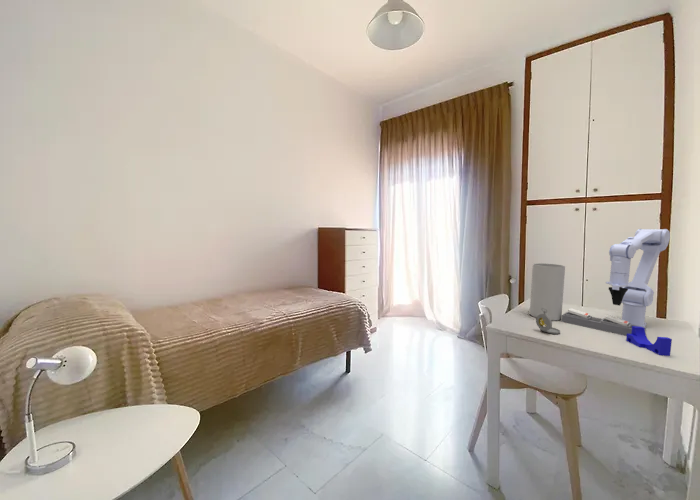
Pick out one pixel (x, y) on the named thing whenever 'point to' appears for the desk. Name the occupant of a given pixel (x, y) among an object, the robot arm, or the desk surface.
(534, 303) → the cylinder vase
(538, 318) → the pocket watch
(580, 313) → the rocker outlet
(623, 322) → the rocker outlet
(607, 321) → the power strip
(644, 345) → the cable clip
